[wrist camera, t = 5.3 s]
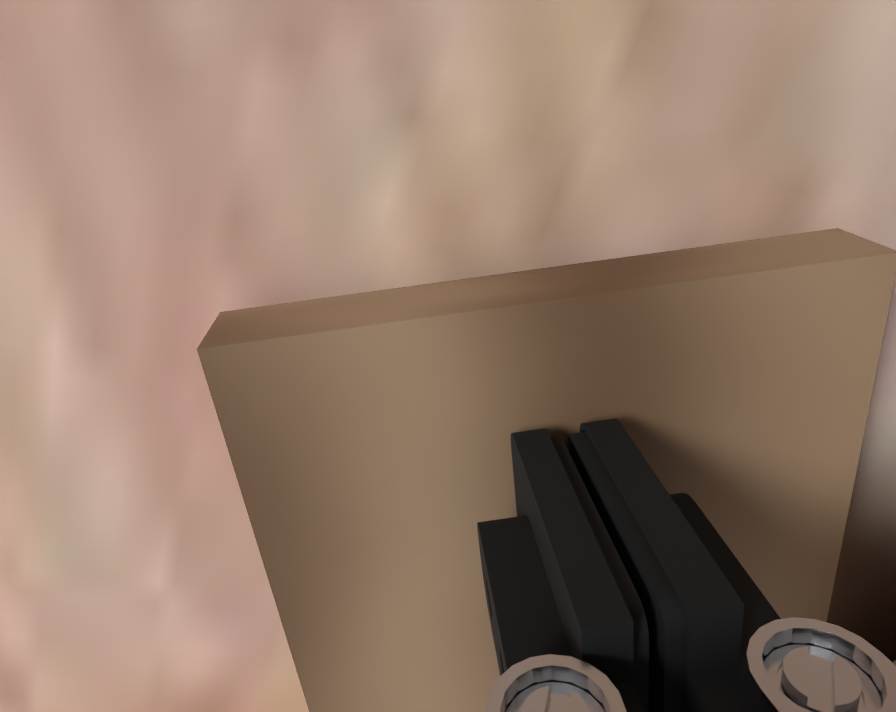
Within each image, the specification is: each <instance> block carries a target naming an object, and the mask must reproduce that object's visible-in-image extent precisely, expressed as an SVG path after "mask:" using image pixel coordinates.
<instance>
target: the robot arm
mask: <svg viewBox="0 0 896 712" xmlns="http://www.w3.org/2000/svg"><path fill="white" fill-rule="evenodd" d="M511 452H512V464H513V475H514V487H515V498H516V510H517V517H511V518H504V519H497V520H490V521H484V522H477V530H478V540H479V548H480V557H481V565H482V573H483V580H484V587H485V593H486V600H487V606H488V612H489V618H490V623H491V629H492V634H493V639H494V645H495V650H496V656H497V661H498V667H499V672H500V677H499V678H498V680H497V681H496V683H495V685H494V686H493V688H492V690H491V692H490V693H489V697H488V703H487V708H486V712H896V666H895V665H894V664H893V663H892V662H891V661H890V660H889V659H888V658H887V657H886V656H885V655H884V654H883V653H881V652H880V651H879V650H878V649H876V648H875V647H874V646H872V645H871V644H870V643H868V642H867V641H866V640H864V639H863V638H862V637H860V636H858V635H856V634H854V633H852V632H850V631H848V630H846V629H844V628H842V627H840V626H837V625H834V624H831V623H827V622H824V621H820V620H817V619H808V618H797V617H792V618H785V619H781V618H780V617H779V615H778V614H777V613H776V611H775V610H774V609H773V607H772V606H771V604H770V603H769V602H768V600H767V599H766V598H765V596H764V595H763V594H762V592H761V591H760V589H759V588H758V587H757V585H756V584H755V583H754V581H753V580H752V579H751V577H750V576H749V574H748V573H747V572H746V570H745V569H744V568H743V566H742V565H741V564H740V562H739V561H738V559H737V558H736V557H735V555H734V554H733V553H732V551H731V550H730V549H729V547H728V546H727V544H726V543H725V542H724V540H723V539H722V538H721V536H720V535H719V534H718V532H717V531H716V529H715V528H714V527H713V525H712V524H711V523H710V521H709V520H708V519H707V517H706V516H705V514H704V513H703V512H702V510H701V509H700V508H699V506H698V505H697V504H696V502H695V501H694V500H693V499H692V498H691V497H690V495H689V494H686V493H677V494H670V495H669V493H668V492H667V490H666V489H665V487H664V486H663V484H662V483H661V481H660V480H659V478H658V477H657V476H656V474H655V473H654V471H653V470H652V468H651V467H650V465H649V464H648V462H647V461H646V459H645V458H644V456H643V455H642V454H641V452H640V451H639V449H638V448H637V446H636V445H635V443H634V442H633V440H632V439H631V437H630V436H629V435H628V433H627V432H626V430H625V429H624V427H623V426H622V424H621V423H620V421H619V420H618V419H615V418H614V419H607V420H600V421H593V422H586V423H581V425H580V430H579V433H573V434H570V435H569V451H568V449H567V447H566V445H565V443H564V441H563V439H562V437H561V436H560V435H558V436H551V437H550V436H549V434H548V431H547V430H546V429H545V428H543V429H536V430H529V431H522V432H515V433H511Z"/></svg>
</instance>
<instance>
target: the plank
mask: <svg viewBox="0 0 896 712" xmlns="http://www.w3.org/2000/svg"><path fill="white" fill-rule="evenodd" d="M895 277H896V250H893V249H890V248H888V247H885V246H883V245H880V244H877V243H875V242H872V241H870V240H867V239H864V238H862V237H859V236H857V235H854V234H851V233H849V232H846V231H844V230H841V229H838V228H837V229H829V230H822V231H815V232H807V233H800V234H793V235H785V236H778V237H770V238H763V239H756V240H748V241H741V242H734V243H726V244H719V245H712V246H704V247H697V248H689V249H682V250H675V251H667V252H660V253H653V254H645V255H638V256H631V257H623V258H616V259H608V260H601V261H594V262H586V263H579V264H572V265H564V266H557V267H550V268H542V269H535V270H527V271H520V272H513V273H505V274H498V275H491V276H483V277H476V278H469V279H461V280H454V281H446V282H439V283H432V284H424V285H417V286H410V287H402V288H395V289H388V290H380V291H373V292H365V293H358V294H351V295H343V296H336V297H329V298H321V299H314V300H307V301H299V302H292V303H284V304H277V305H270V306H262V307H255V308H248V309H240V310H233V311H226V312H220V314H219V315H218V317H217V318H216V320H215V321H214V323H213V325H212V326H211V328H210V329H209V331H208V332H207V334H206V336H205V337H204V339H203V340H202V342H201V343H200V345H199V347H198V348H197V351H198V354H199V357H200V361H201V364H202V367H203V370H204V374H205V377H206V380H207V383H208V386H209V390H210V393H211V396H212V399H213V402H214V406H215V409H216V412H217V415H218V419H219V422H220V425H221V428H222V431H223V435H224V438H225V441H226V444H227V448H228V451H229V454H230V457H231V460H232V464H233V467H234V470H235V473H236V477H237V480H238V483H239V486H240V489H241V493H242V496H243V499H244V502H245V506H246V509H247V512H248V515H249V518H250V522H251V525H252V528H253V531H254V535H255V538H256V541H257V544H258V547H259V551H260V554H261V557H262V560H263V564H264V567H265V570H266V573H267V576H268V580H269V583H270V586H271V589H272V593H273V596H274V599H275V602H276V605H277V609H278V612H279V615H280V618H281V622H282V625H283V628H284V631H285V634H286V638H287V641H288V644H289V647H290V651H291V654H292V657H293V660H294V663H295V667H296V670H297V673H298V676H299V680H300V683H301V686H302V689H303V692H304V696H305V699H306V702H307V705H308V709H309V712H486V708H487V703H488V697H489V693H490V692H491V690H492V688H493V686H494V685H495V683H496V681H497V680H498V678H499V677H500V672H499V667H498V661H497V656H496V650H495V645H494V639H493V634H492V629H491V623H490V618H489V612H488V606H487V600H486V593H485V587H484V580H483V573H482V565H481V557H480V548H479V540H478V530H477V522H484V521H490V520H497V519H504V518H511V517H517V510H516V498H515V487H514V475H513V464H512V452H511V433H515V432H522V431H529V430H536V429H543V428H545V429H546V430H547V431H548V434H549V436H550V437H551V436H558V435H560V436H561V437H562V439H563V441H564V443H565V445H566V447H567V449H568V451H569V435H570V434H573V433H579V430H580V425H581V423H586V422H593V421H600V420H607V419H614V418H615V419H618V420H619V421H620V423H621V424H622V426H623V427H624V429H625V430H626V432H627V433H628V435H629V436H630V437H631V439H632V440H633V442H634V443H635V445H636V446H637V448H638V449H639V451H640V452H641V454H642V455H643V456H644V458H645V459H646V461H647V462H648V464H649V465H650V467H651V468H652V470H653V471H654V473H655V474H656V476H657V477H658V478H659V480H660V481H661V483H662V484H663V486H664V487H665V489H666V490H667V492H668V493H669V495H670V494H677V493H686V494H689V495H690V497H691V498H692V499H693V500H694V501H695V502H696V504H697V505H698V506H699V508H700V509H701V510H702V512H703V513H704V514H705V516H706V517H707V519H708V520H709V521H710V523H711V524H712V525H713V527H714V528H715V529H716V531H717V532H718V534H719V535H720V536H721V538H722V539H723V540H724V542H725V543H726V544H727V546H728V547H729V549H730V550H731V551H732V553H733V554H734V555H735V557H736V558H737V559H738V561H739V562H740V564H741V565H742V566H743V568H744V569H745V570H746V572H747V573H748V574H749V576H750V577H751V579H752V580H753V581H754V583H755V584H756V585H757V587H758V588H759V589H760V591H761V592H762V594H763V595H764V596H765V598H766V599H767V600H768V602H769V603H770V604H771V606H772V607H773V609H774V610H775V611H776V613H777V614H778V615H779V617H780V618H781V619H785V618H792V617H797V618H808V619H817V620H820V621H824V622H827V617H828V612H829V607H830V602H831V597H832V592H833V587H834V582H835V577H836V572H837V567H838V562H839V557H840V552H841V547H842V542H843V537H844V532H845V527H846V522H847V517H848V512H849V507H850V502H851V497H852V492H853V487H854V482H855V477H856V472H857V467H858V462H859V457H860V452H861V447H862V442H863V437H864V432H865V427H866V422H867V417H868V412H869V407H870V402H871V397H872V392H873V387H874V382H875V377H876V372H877V367H878V362H879V357H880V352H881V347H882V342H883V337H884V332H885V327H886V322H887V317H888V312H889V307H890V302H891V297H892V292H893V287H894V282H895Z"/></svg>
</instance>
